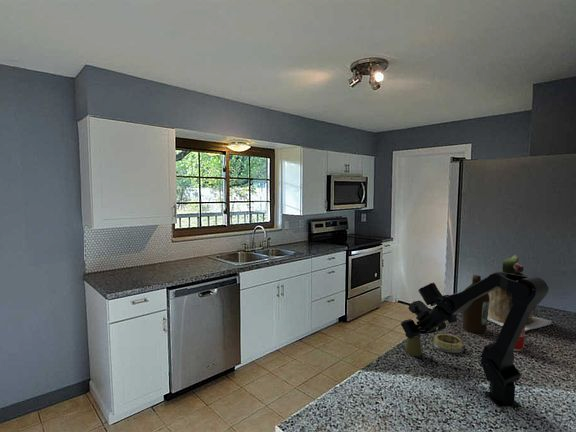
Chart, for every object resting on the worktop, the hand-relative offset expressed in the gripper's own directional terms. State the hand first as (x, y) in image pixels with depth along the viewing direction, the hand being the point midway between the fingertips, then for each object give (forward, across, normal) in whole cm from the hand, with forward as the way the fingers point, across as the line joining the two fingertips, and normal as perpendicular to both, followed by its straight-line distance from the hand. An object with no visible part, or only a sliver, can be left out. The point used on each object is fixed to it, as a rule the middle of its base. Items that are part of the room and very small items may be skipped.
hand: (410, 334), depth 129 cm
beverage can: (-7, -39, +17) cm, 43 cm away
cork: (+4, 0, +6) cm, 7 cm away
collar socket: (+2, -16, +8) cm, 18 cm away
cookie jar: (+5, -69, +5) cm, 69 cm away
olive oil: (+6, -42, +4) cm, 43 cm away
